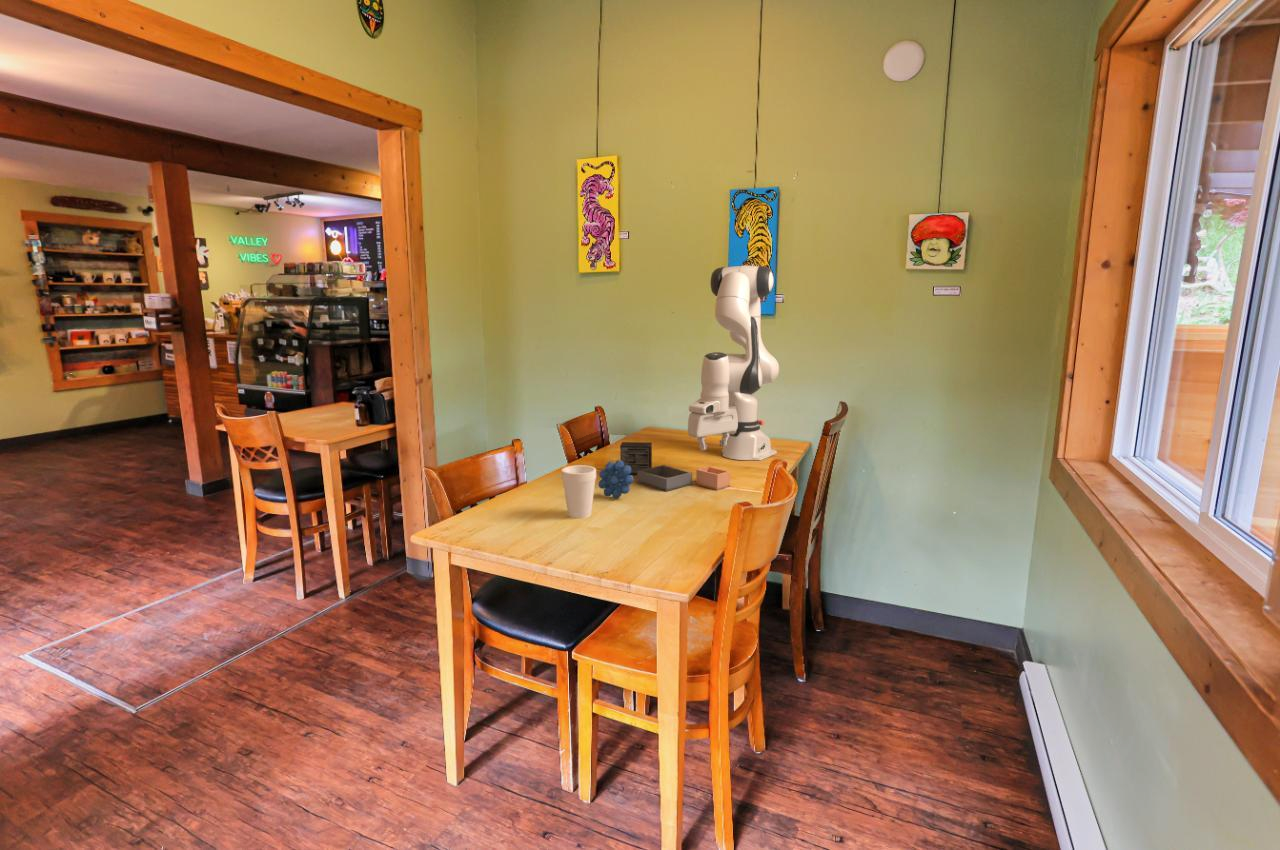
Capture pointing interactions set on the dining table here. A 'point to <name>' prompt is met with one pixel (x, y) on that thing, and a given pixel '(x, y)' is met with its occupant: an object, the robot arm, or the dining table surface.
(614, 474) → the grapes
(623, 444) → the small box
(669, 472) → the box
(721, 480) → the small crate
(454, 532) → the dining table surface
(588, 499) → the foam cup
